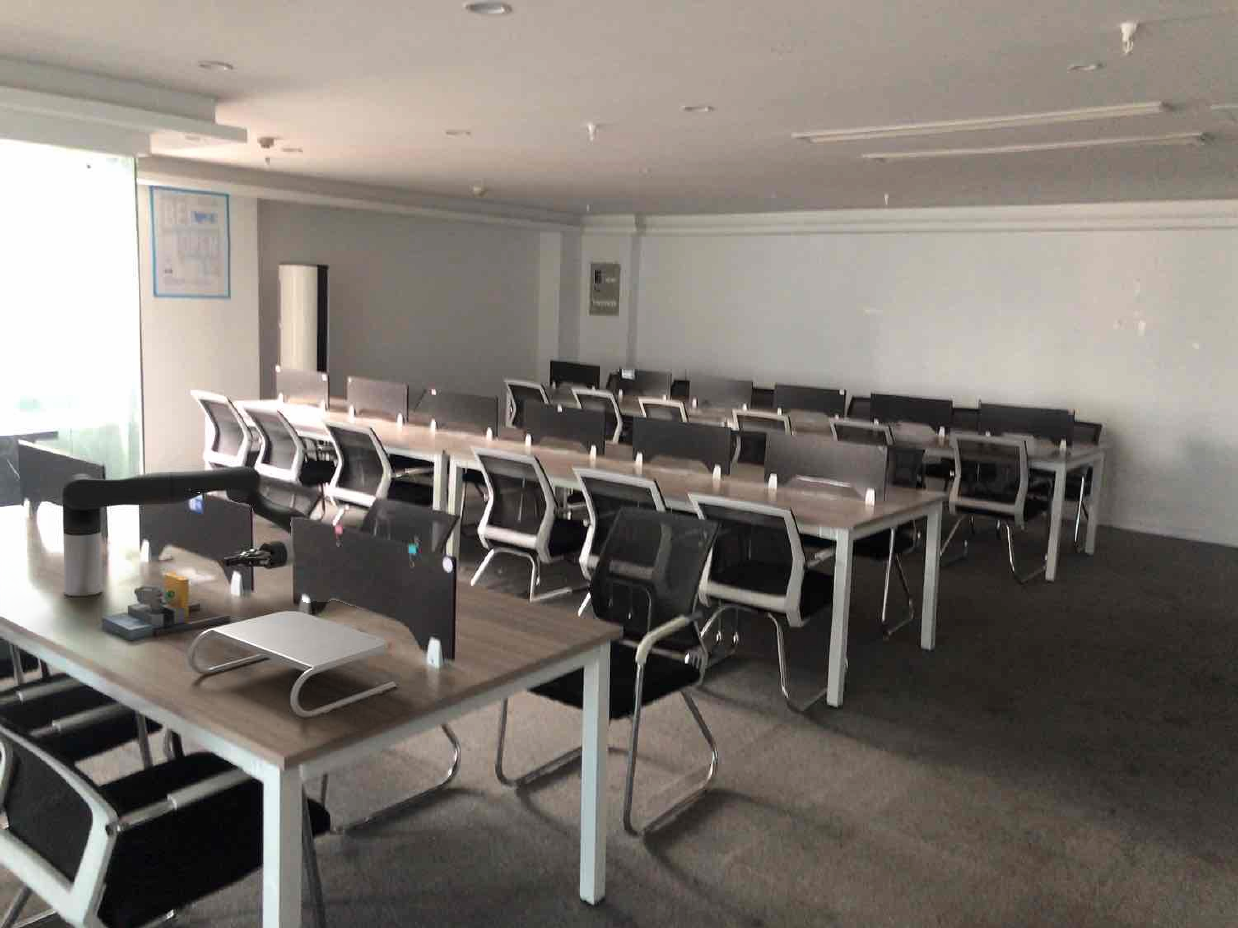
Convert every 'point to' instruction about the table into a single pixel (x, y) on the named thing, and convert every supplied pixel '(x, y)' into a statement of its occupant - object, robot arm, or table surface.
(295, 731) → the table surface
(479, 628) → the table surface
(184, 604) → the free jaw
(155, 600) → the mechanical component
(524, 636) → the table surface
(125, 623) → the vise body
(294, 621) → the monitor stand
